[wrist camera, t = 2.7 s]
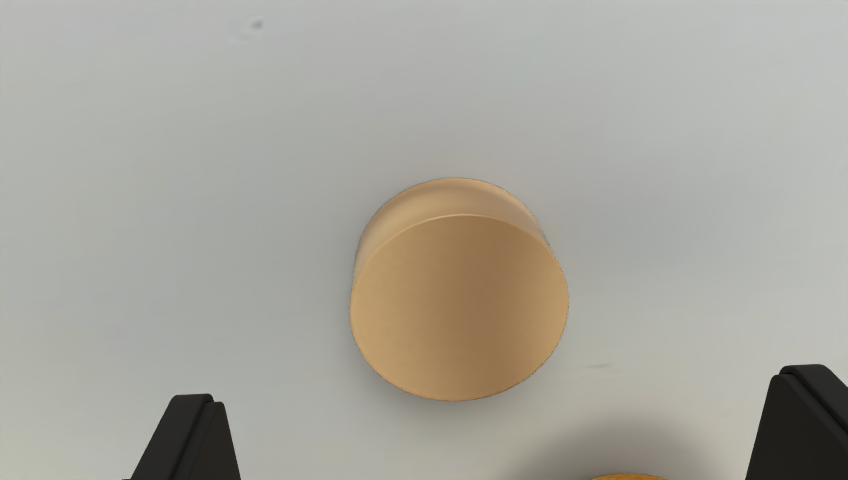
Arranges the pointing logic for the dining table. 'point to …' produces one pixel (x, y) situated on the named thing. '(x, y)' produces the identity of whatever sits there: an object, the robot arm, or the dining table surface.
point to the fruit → (628, 477)
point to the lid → (456, 291)
